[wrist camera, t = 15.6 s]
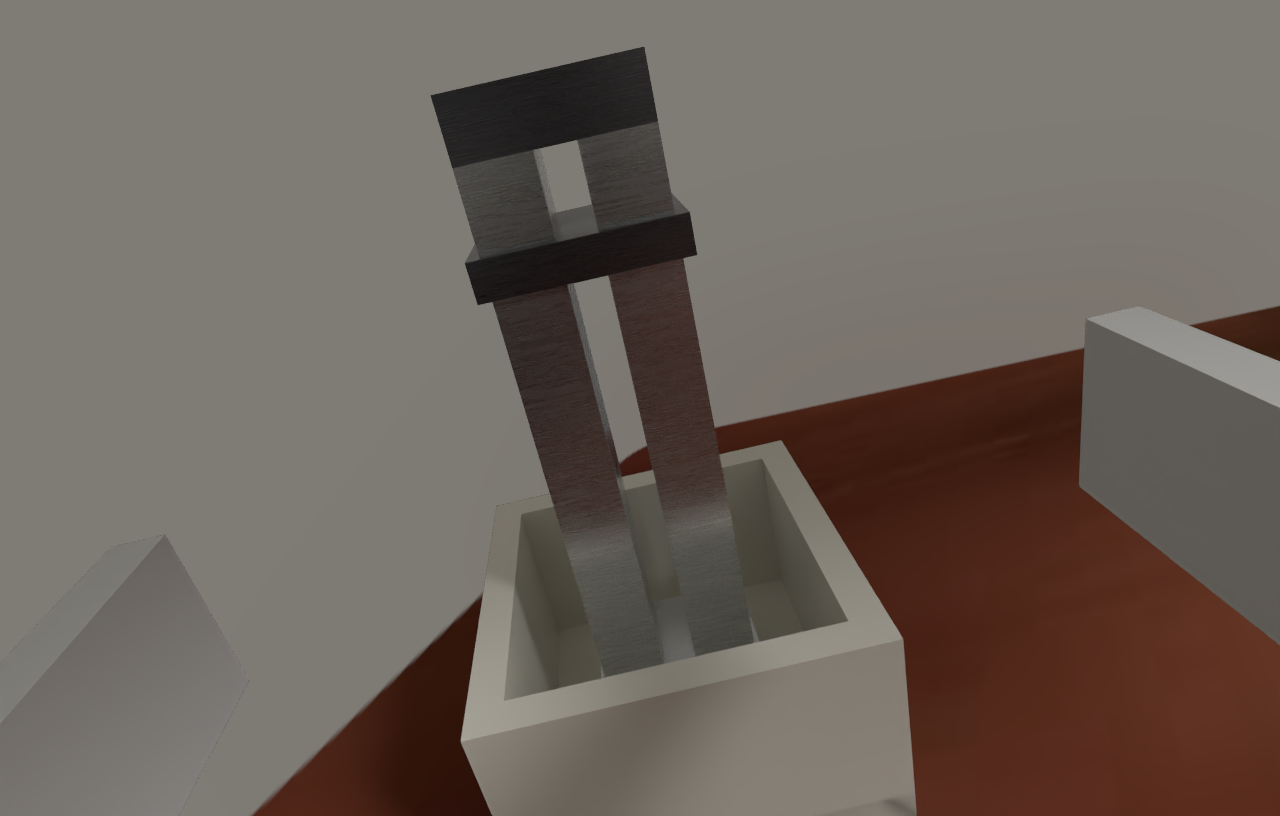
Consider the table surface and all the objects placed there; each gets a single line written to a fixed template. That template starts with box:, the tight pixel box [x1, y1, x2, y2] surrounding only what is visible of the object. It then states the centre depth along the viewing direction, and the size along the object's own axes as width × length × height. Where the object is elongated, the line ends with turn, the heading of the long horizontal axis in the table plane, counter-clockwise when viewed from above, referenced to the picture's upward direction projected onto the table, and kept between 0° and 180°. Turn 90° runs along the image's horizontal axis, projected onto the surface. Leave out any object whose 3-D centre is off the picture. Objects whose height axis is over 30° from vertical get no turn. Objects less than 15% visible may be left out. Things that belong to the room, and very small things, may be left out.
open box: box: [461, 440, 917, 816], centre depth 24 cm, size 11×11×6 cm
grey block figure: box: [431, 47, 760, 678], centre depth 21 cm, size 5×5×20 cm
